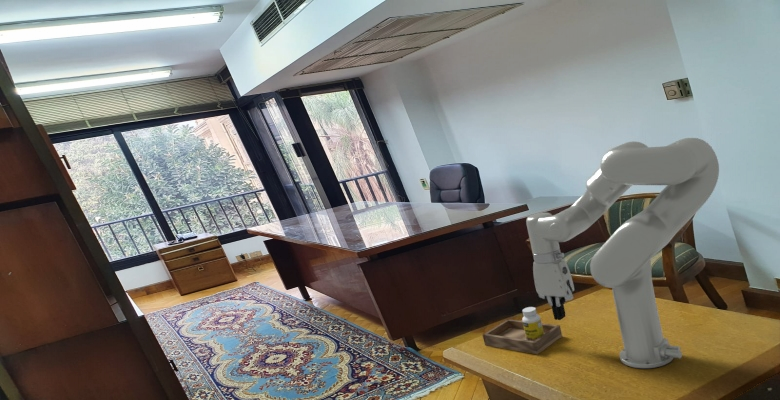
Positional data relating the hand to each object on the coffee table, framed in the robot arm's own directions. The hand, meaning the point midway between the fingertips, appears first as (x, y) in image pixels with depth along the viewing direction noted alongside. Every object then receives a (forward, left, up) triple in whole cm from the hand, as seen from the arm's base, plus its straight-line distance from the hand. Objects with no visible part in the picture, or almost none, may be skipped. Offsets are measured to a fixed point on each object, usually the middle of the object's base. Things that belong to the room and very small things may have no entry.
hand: (560, 318), depth 152 cm
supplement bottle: (+10, 0, -8) cm, 13 cm away
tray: (+16, 0, -9) cm, 18 cm away
